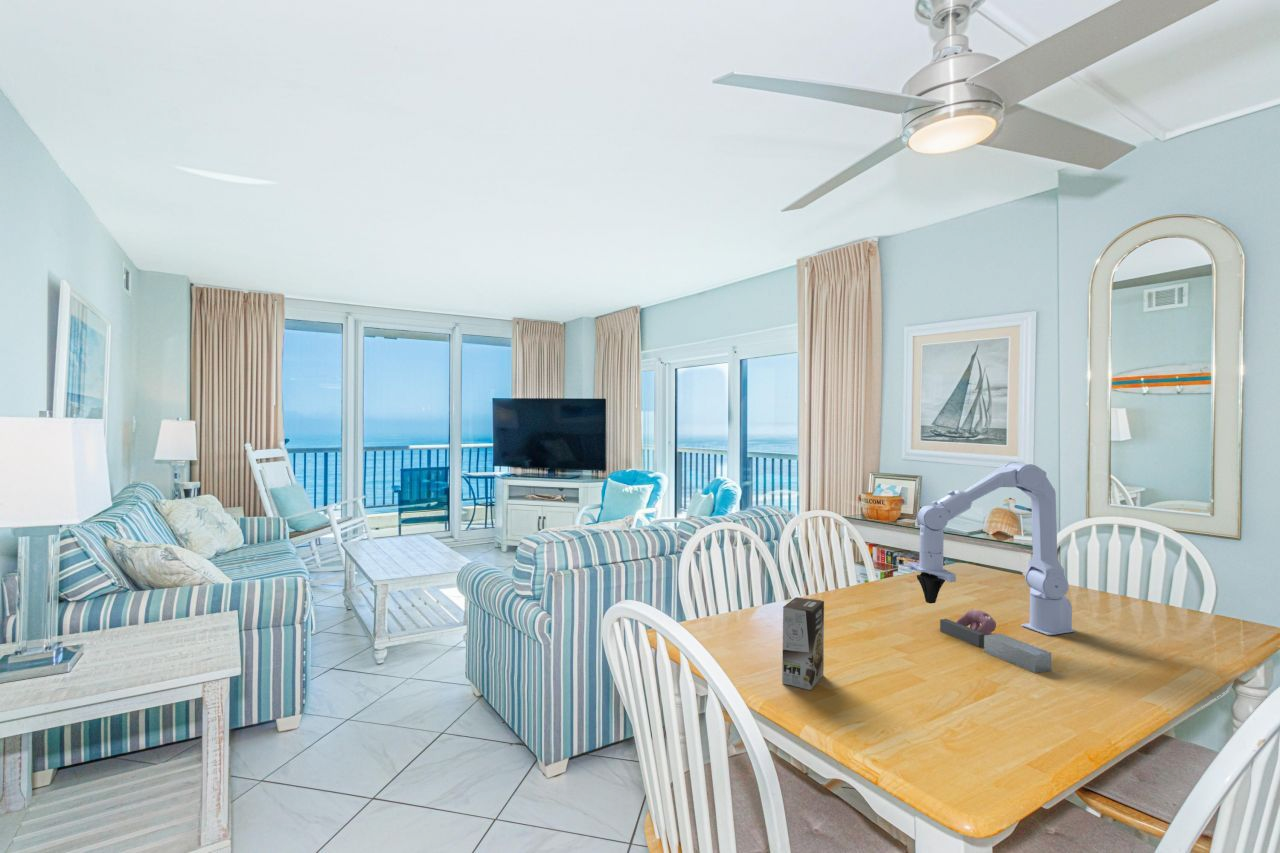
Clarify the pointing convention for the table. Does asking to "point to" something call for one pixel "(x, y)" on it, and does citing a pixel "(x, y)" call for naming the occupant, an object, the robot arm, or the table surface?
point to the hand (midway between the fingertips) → (930, 602)
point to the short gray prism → (962, 632)
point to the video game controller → (978, 621)
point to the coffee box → (803, 642)
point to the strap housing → (1017, 652)
